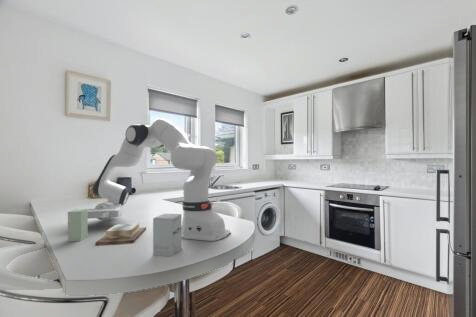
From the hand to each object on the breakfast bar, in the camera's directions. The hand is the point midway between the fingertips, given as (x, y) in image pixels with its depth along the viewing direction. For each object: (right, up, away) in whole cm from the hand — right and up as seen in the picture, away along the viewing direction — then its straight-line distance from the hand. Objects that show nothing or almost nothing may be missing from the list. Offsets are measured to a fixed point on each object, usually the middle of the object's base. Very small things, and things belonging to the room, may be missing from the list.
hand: (90, 216), depth 103 cm
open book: (+19, -6, -8) cm, 21 cm away
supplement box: (+44, -6, -25) cm, 51 cm away
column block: (+1, -7, -10) cm, 12 cm away
